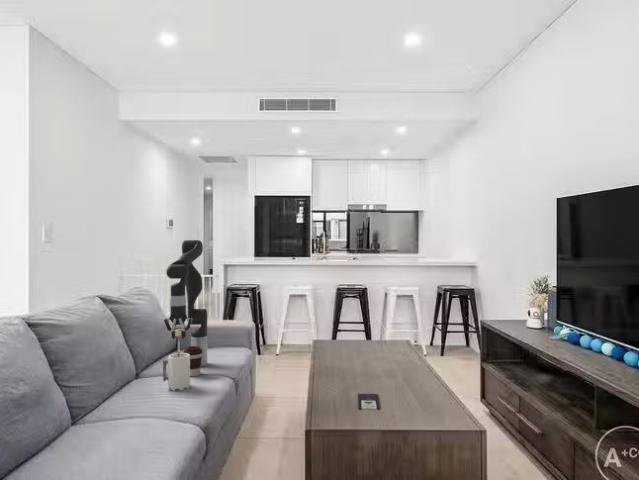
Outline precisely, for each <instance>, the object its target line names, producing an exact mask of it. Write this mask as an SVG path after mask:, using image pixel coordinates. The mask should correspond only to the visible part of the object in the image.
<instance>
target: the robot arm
mask: <svg viewBox="0 0 639 480" xmlns="http://www.w3.org/2000/svg"><path fill="white" fill-rule="evenodd" d="M203 249H204V246H203V242H202V241H201V240H199V239H186V240H185V239H184V240H183V241H182V242H181V252H182V254H181V255H180V256H179V257H178V258H177V260H175V261H173V262H172V263H170V264H169V265H168V266H167V268H166V271H165V272H166V273H165V274H166V276H167V278H169V279H171V280H175V279H176V280H177V279H178V280H179V282H176V283H172V284H170V299H169V301H170V302H169V305H170V307H169V308H170V309H169V310H170V311H169V312H170V316H169V318H165V319H164V320H163V321H164V325H165V326H166V330H167V331H168V332H169V331H170V332H171V333H170V334H171V339H172V340H175V339H176V337H175V336H174V330H176V326H180V327H181V329H182V336H181V338H182V340H184V339H185V338H186V336H187V333H186V332H187V331H188V330H189V329H190V328H191V325H192V326H193V325H195V326H196V325H198V326H199V325H200V327H198V328H196V329H195V330H192V331H191V333H190V347H191V346H198V347H200V349H202V353H201V356H202V358H201V368H203V367H207V366H208V315H209V314H208V311H207V310H208V309H206V308H195V303H196V301H197V299H198V297H199V296H200V294H201V292H202V290H203V277H202V274H201V273H200V272H199V271H198V269H197V268H196V267H195V266H194V264H193V263H194V261H196V260H197V259H198V258H199V257H200V256H201V255H202V254H203V251H204V250H203ZM186 298H187V299H186ZM170 321H171V323H172V324H171V323H170ZM186 321H187V325H186V324H185V322H186Z"/></svg>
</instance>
